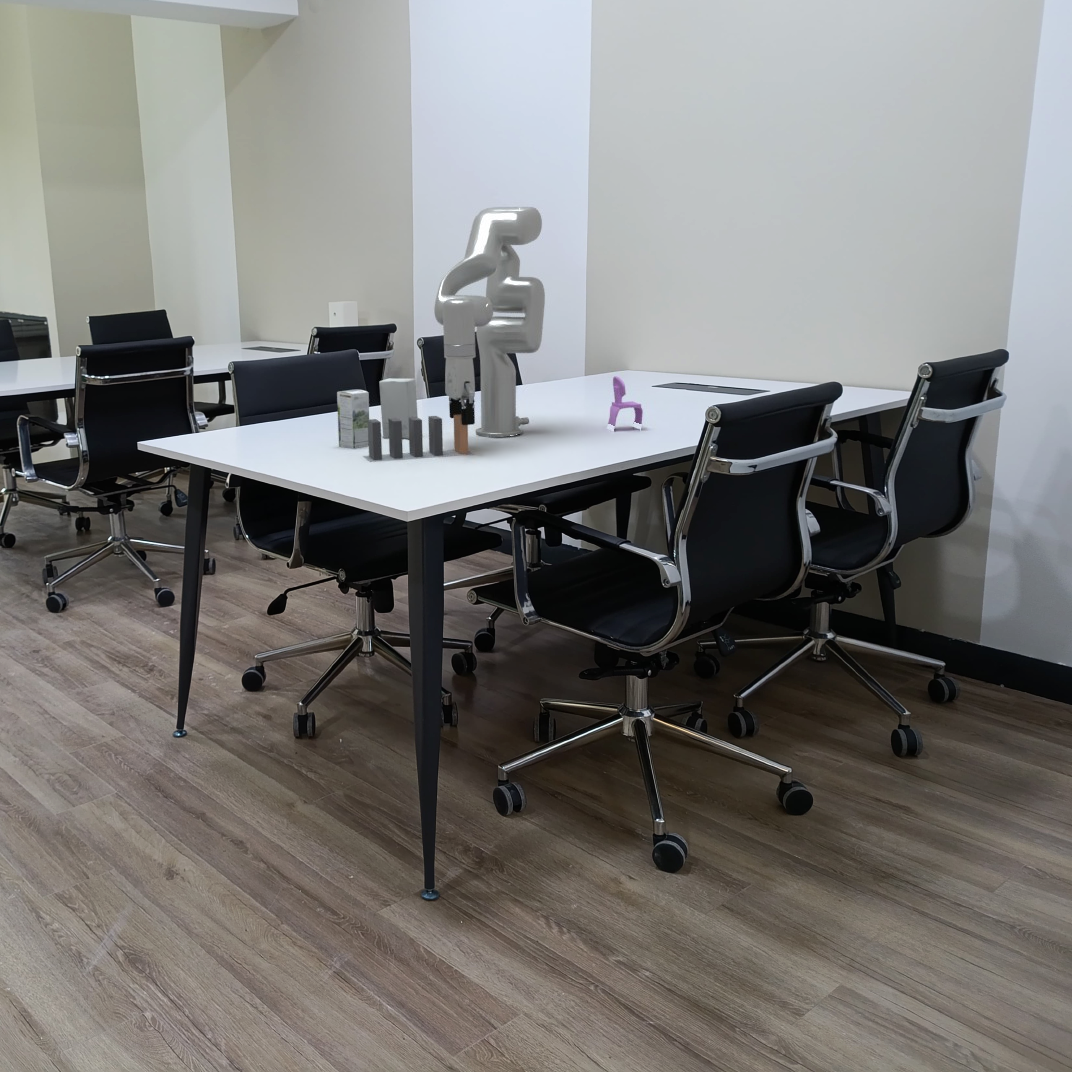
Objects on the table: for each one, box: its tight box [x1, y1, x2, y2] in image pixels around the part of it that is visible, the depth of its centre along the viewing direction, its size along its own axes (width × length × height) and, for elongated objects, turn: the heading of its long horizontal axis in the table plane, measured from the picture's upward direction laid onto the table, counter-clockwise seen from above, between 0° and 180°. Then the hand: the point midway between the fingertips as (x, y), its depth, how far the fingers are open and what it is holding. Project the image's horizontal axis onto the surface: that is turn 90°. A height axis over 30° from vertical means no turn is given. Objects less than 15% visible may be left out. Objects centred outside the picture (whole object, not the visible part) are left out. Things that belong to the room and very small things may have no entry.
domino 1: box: [368, 418, 383, 460], centre depth 250 cm, size 2×5×9 cm, turn 21°
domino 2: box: [388, 418, 404, 459], centre depth 252 cm, size 2×5×9 cm, turn 21°
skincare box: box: [378, 377, 419, 440], centre depth 281 cm, size 8×7×16 cm
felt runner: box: [362, 449, 475, 463], centre depth 255 cm, size 26×8×1 cm, turn 111°
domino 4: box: [427, 415, 444, 456], centre depth 255 cm, size 2×5×9 cm, turn 21°
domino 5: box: [453, 415, 469, 454], centre depth 258 cm, size 2×5×9 cm, turn 22°
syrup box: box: [336, 389, 370, 450], centre depth 266 cm, size 6×6×14 cm
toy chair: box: [607, 376, 644, 427], centre depth 294 cm, size 8×9×15 cm
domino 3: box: [408, 417, 424, 457], centre depth 254 cm, size 2×5×9 cm, turn 21°
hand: (462, 421), depth 258 cm, fingers open, 9 cm apart
